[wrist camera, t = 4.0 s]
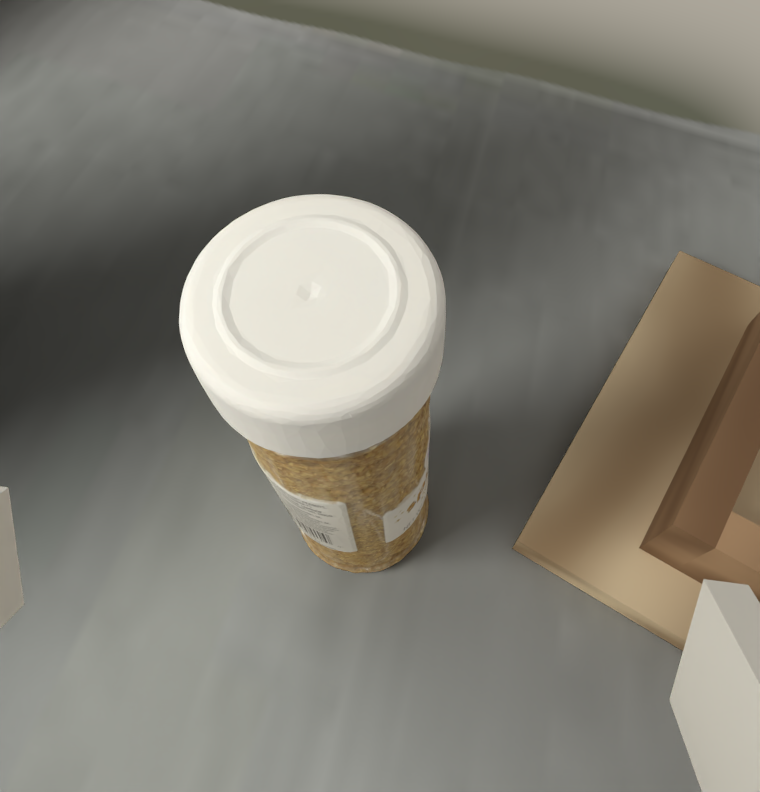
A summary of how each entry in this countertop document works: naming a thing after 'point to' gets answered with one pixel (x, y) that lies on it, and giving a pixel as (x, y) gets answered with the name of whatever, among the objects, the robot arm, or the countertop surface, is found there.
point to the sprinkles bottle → (325, 365)
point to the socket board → (665, 460)
